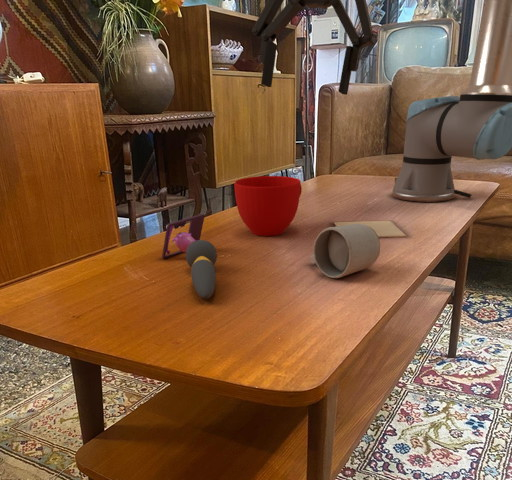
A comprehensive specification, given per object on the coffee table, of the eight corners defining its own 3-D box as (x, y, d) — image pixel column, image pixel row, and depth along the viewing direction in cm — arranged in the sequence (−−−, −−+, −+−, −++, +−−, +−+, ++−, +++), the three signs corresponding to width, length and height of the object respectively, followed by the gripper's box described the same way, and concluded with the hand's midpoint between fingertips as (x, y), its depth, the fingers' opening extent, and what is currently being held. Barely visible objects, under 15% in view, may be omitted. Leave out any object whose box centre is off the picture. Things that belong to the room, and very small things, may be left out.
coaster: (390, 222, 111) (390, 220, 110) (405, 236, 100) (405, 235, 100) (334, 223, 110) (334, 222, 110) (343, 238, 100) (343, 236, 100)
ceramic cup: (323, 226, 108) (325, 176, 104) (271, 244, 97) (271, 189, 93) (276, 217, 116) (276, 171, 112) (223, 233, 105) (220, 182, 101)
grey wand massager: (233, 302, 72) (231, 267, 69) (197, 306, 71) (194, 271, 68) (213, 260, 89) (211, 231, 87) (184, 263, 88) (181, 234, 86)
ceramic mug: (382, 271, 82) (386, 222, 78) (349, 283, 77) (351, 232, 74) (331, 258, 89) (332, 213, 86) (298, 269, 84) (298, 221, 81)
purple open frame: (200, 211, 93) (164, 221, 87) (221, 224, 91) (186, 236, 85) (193, 244, 97) (158, 256, 91) (214, 257, 95) (179, 270, 89)
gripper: (243, -73, 80) (226, 78, 87) (405, -76, 71) (372, 92, 78) (262, -53, 86) (245, 86, 93) (413, -53, 78) (381, 100, 85)
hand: (303, 89), depth 86 cm, fingers open, 13 cm apart
